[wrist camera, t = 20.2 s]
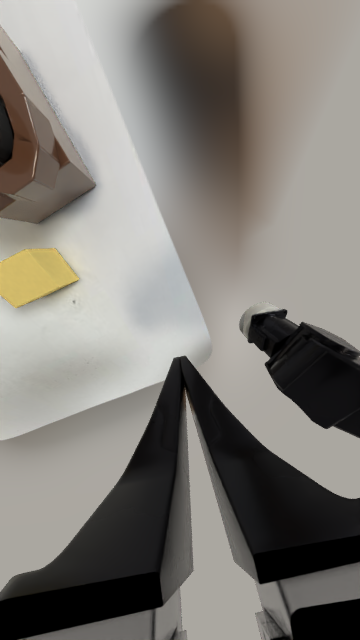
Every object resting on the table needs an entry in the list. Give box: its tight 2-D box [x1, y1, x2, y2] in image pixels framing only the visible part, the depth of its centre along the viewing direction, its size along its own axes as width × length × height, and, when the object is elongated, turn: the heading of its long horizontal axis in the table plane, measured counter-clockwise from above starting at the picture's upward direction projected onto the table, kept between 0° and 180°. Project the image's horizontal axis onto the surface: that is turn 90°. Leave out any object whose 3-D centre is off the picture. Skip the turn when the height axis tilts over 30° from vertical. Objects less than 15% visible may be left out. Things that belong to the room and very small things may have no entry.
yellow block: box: [0, 248, 79, 308], centre depth 15 cm, size 6×4×4 cm, turn 112°
